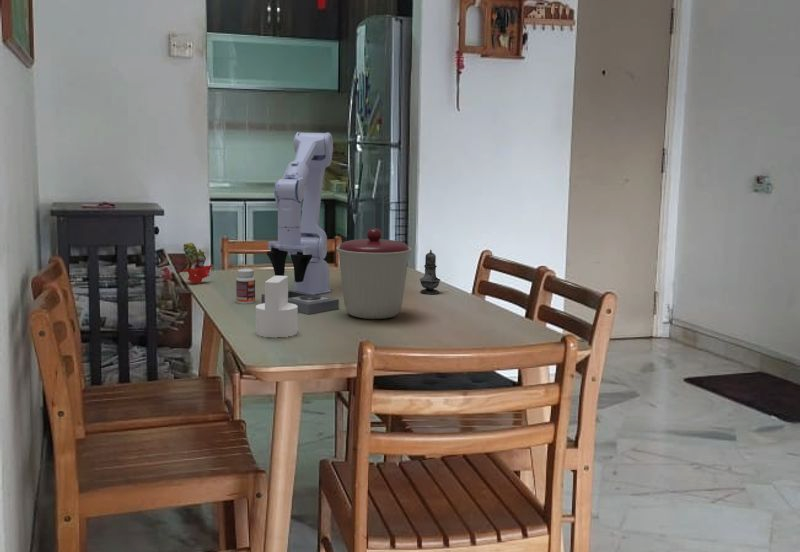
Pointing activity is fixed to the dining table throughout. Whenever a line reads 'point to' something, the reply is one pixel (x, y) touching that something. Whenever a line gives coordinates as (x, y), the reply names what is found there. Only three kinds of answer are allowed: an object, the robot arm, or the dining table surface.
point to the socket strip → (310, 302)
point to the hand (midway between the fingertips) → (289, 279)
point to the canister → (373, 275)
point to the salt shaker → (430, 275)
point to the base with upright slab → (276, 310)
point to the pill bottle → (245, 286)
